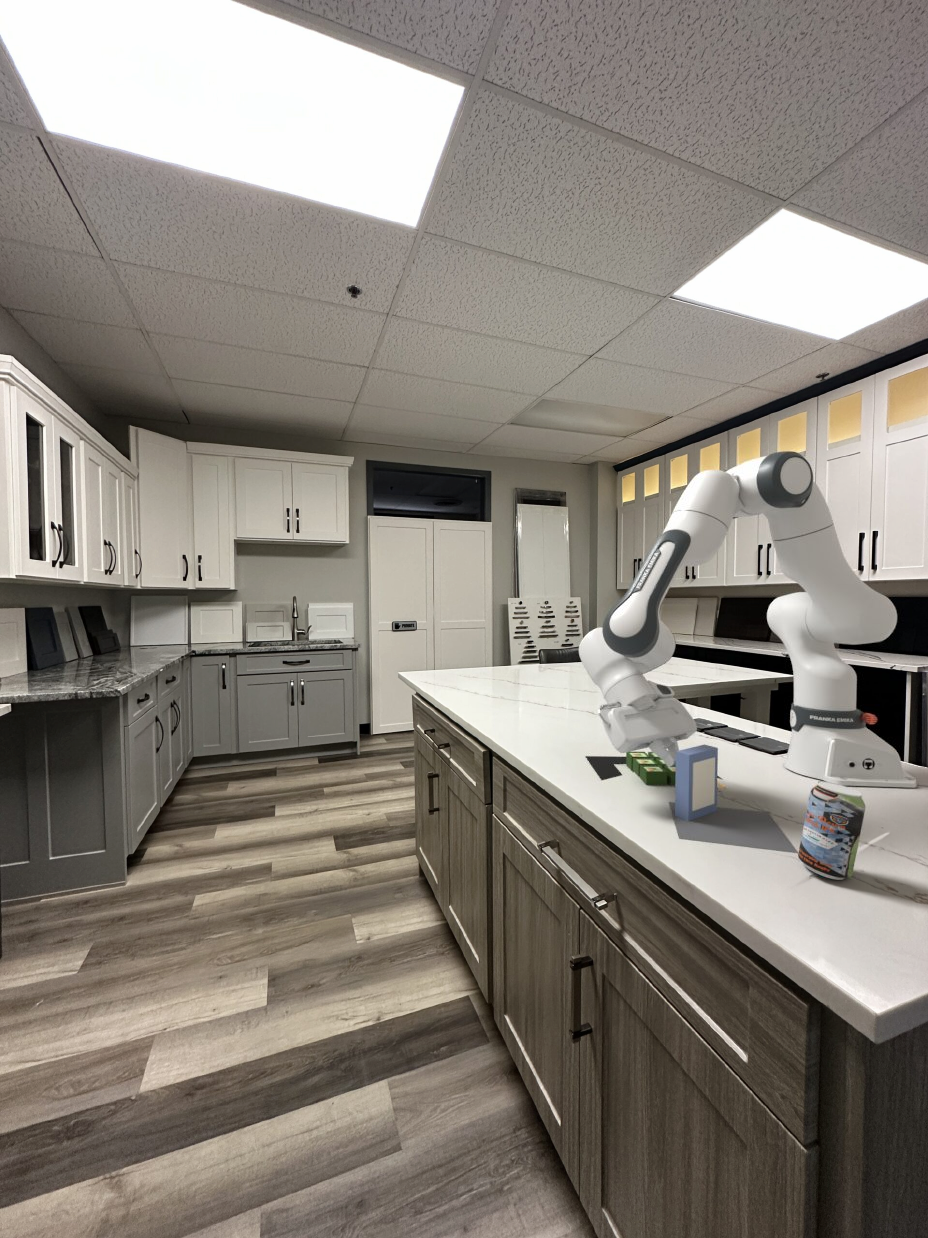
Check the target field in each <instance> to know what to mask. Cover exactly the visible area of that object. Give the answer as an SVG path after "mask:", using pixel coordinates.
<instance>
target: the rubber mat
mask: <svg viewBox="0 0 928 1238" xmlns="http://www.w3.org/2000/svg"><path fill="white" fill-rule="evenodd" d="M668 804H669V808H670V811H671V815H672V818H673V822H674V826H675V829H676V833H677V835H678V839H679V840H686V841H687V840H688V841H694V842H695V841H696V842H702V843H709V844H718V845H727V846H736V847H745V848H752V849H753V848H754V849H761V850H767V851H768V850H769V851H777V852H785V853H793V854H798V853H799V850H797V849H796V847H795V846H794V845H793V843H792V842H791V841H790V839H789V838H788V837H787V835H786V834H785V832H784V831H783V830H782V828H781V827H780V826H779V824H778V823H777V822H776V820H775V819H774V818H773V816H772V815H771V814H770V813H769V812H768V811H761V810H760V811H759V810H753V809H752V810H750V809H741V808H731V807H721V806H717V811H715V812H712V813H709V814H706V815H704V816H701V817H698V818H695V819H693V820H690V821H687V820H684V819H682V818H680V817H677V816H675V801H674V802H671V801H668Z"/></svg>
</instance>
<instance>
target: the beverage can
mask: <svg viewBox="0 0 928 1238" xmlns="http://www.w3.org/2000/svg"><path fill="white" fill-rule="evenodd" d="M816 783H817V784H816V785H814V786H813V787H812V788H811V789H810V791H809V797H808V802H807V807H806V812H805V817H804V821H803V827H802V833H801V838H800V844H799V848H798V849H799V850H798V853H797V856H798V859H799V860H800V861H801V862H802V863H803V865H804V867H806V868H807V869H808V870H810V871H812V872H813V873H815V874H817V875H820V876H822V877H825V878H827V879H832V880H838V881H842V880H844V879H850V878H851V877H853V873H854V867H855V862H856V859H857V858H856V857H857V853H858V846H859V843H860V836H861V831H862V829H863V828H862V826H863V823H864V817H865V811H866V804H865V802H864V800H863V794H862V793H861V792H860V791H858V790H857V789H854V788H851V787H849V786H847V785H839V784H835V783H831V782H827V781H824V780H819V781H817V782H816Z"/></svg>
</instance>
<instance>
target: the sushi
mask: <svg viewBox="0 0 928 1238" xmlns="http://www.w3.org/2000/svg"><path fill="white" fill-rule="evenodd" d="M586 758H587V759H586ZM585 759H586V760H587V762H588V761H589V762H588V763H589V765H590V766H591V767H592V769H593V770H594V772H595V773H596V775H597V776H598V778H599V779H600V780H601V781H605V780H608V779H613V778H616V777H621V776H623V774H622V772H621V771H620V770H619V769H618V768H617V766H616V765H625V766H626V767H627V768H628V769H629V770H630V771H632V773H634V774H635V775H636V776H637V777H638V778H639V779H640V780H641V782H643V783H644V784H645V785H646V786H668V785H670V786H675V781H676V765H675V766H672V767H668V766H667V765H666V764H665V762H664V761H663V759H661V758H660V757H658V756H657V755H655V754H654V753H653V752H652V751H648V752H645V751H630V752H626V753H625V756H618V755H617V756H611V755H610V756H606V755H605V756H604V755H603V756H601V755H600V756H599V755H597V756H596V755H595V756H594V755H585ZM717 779H719V780H723V781H724V779H723V778H722V777H720V776H719V775H718V774H717ZM718 786H720V787H721V788H723V789H724V790H725V789H727V787H726V786H725V785H723V784H722V783H720V782H719V781H718V780H717V790H718V789H719V787H718Z"/></svg>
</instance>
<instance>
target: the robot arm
mask: <svg viewBox="0 0 928 1238" xmlns="http://www.w3.org/2000/svg"><path fill="white" fill-rule="evenodd" d="M813 472H814V471H813V469H812V467H811V464H810V462H809V461H808V460H807V459H806V458H805V457H804V456H803V455H802V454H800V453H799V452H797V451H791V450H788V451H778V452H777V451H776V452H772V453H770V454H768V455H765V456H759V457H756V458H753V459H748V460H746V461H744V462H742V463H740V464H738V465H736V466H733V467H731V468H730V469H725V470H720V469H705V470H703V471H701V472H699V473H696V475H695V476H694V477H693V478H692V479H691V481H689V483H688V484H687V486H686V487H685V489H684V491H683V492H682V494H681V496H680V498H679V499H678V501H677V503H676V505H675V506H674V509H673V510H672V513H671V515H670V517H669V520H668V522H667V523H666V525H665V528H664V529H663V532H662V533H661V534H660V535H659V536H658V538H656V541H655V542H654V543H653V545H652V547H651V548H650V550H649V552H647V555H646V557H645V559H644V560H643V562H642V564H641V565H640V568H639V569H638V571H637V573H636V575H635V576H634V579H632V582H631V584H630V586H629V587H628V589H627V590H626V592H625V593H624V595H622V597H621V598H620V599H619V601H618V602H616V603H615V605H613V606H612V607H611V608H610V609H609V610H608V612H607V613H606V615H605V618H604V620H603V622H602V627H596V628H594V629H592V630H590V631H589V632H588V633H587V634H585V636H584V637H583V638H582V640H581V641H580V643H579V646H578V655H579V658H580V661H581V663H582V665H583V667H584V669H585V670H586V672H587V674H588V676H589V678H590V679H591V681H592V682H593V683H594V685H596V686H597V687H598V688H599V689H600V691H601V693H602V696H603V699H604V700H605V702H606V703H607V704H606V703H604V704H602V705H601V704H600V707H599V709H598V712H597V713H598V717H599V718H600V719H601V721H602V727H603V729H604V731H605V733H606V735H607V737H608V739H609V741H610V743H611V745H612V746H613V748H614V749H615V750H616V751H617V752H618V753H620V754H626V752H636V751H639V750H643V749H648V748H649V749H650V752H653V753H654V754H655V755H657V756H658V757H660V758H661V759H663V761H664V762H665V764H666V765H667V766H668V767H672V766H675V765H676V751H679V750H680V749H679V745H678V742H679V741H682V740H687V739H688V738H690V737H691V736H693V735H694V734H695V733H696V732H697V731H698V726H697V722H696V721H695V719H694V718H693V716H692V715H691V714H690V712H689V710H687V708H686V707H685V706H684V704H683V703H682V702H681V701H679V699H678V698H676V697H674V696H675V691H674V689H672V687H671V686H668V685H665V684H661V683H657V682H655V681H651V680H647V678H646V677H645V674H646V673H649V672H651V671H653V670H655V669H658V668H660V667H661V666H663V665H665V664H667V663H668V662H669V661H670V660H671V659H672V658H673V655H674V654H675V651H676V648H677V647H676V646H677V643H676V642H677V641H676V638H675V635H674V634H673V632H672V631H671V630H670V629H669V628H668V626H667V625H666V624H665V623H664V622H663V621H662V620H661V616H660V610H661V609H660V608H661V605H662V603H663V601H664V599H665V597H666V595H667V594H668V591H669V589H670V588H671V586H672V584H673V582H674V580H675V578H676V577H677V574H679V572H680V571H681V570H682V569H683V568H684V567H698V566H702V565H704V564H707V563H708V562H710V561H712V560H713V558H714V557H715V555H716V554H717V553H718V552H719V550H720V548H721V546H722V545H723V543H724V541H725V539H726V536H727V534H728V532H729V529H730V528H731V525H732V522H733V520H734V519H737V518H745V517H753V516H759V515H761V514H762V515H764V516H765V518H766V519H767V523H768V527H769V532H770V535H771V540H772V543H773V546H774V549H775V554H776V558H777V560H778V561H777V562H778V564H779V568H780V570H781V573H782V574H783V575H784V576H785V577H787V578H788V579H790V580H791V581H793V582H795V583H796V584H798V585H799V586H800V587H801V588H802V589H803V590H804V591H803V592H802V591H799V592H792V593H789V594H785V595H781V596H779V597H776V598H775V599H773V601H772V602H771V603H770V604H769V605H768V609H767V612H766V620H767V625H768V626H769V628H770V630H771V631H772V633H774V634H775V635H776V636H777V637H778V639H780V640H781V642H782V643H783V645H784V647H785V649H786V651H787V652H788V653H787V654H788V656H789V658H790V659H789V660H790V661H791V665H792V666H791V667H792V671H793V672H792V673H793V675H792V676H793V702H792V703H791V706H790V714H789V715H790V717H789V718H790V719H789V723H790V728H791V736H790V739H789V740H790V741H789V744H788V745H789V746H788V749H787V753H786V757H785V760H784V762H783V766H784V767H785V768H786V769H787V770H790V771H791V772H793V773H796V774H799V775H802V776H806V777H809V778H814V779H818V780H820V781H826V782H831V783H835V784H839V785H843V786H846V787H849V786H852V787H853V786H854V787H856V786H857V787H882V788H883V787H887V788H910V789H911V788H913V789H914V788H917V786H918V785H917V780H916V778H915V777H914V776H912V774H910V773H909V772H906V771H904V770H903V767H902V762H901V760H902V759H901V757H900V755H899V753H898V752H897V750H896V749H895V748H894V747H893V746H892V745H890V744H889V743H888V742H886V741H885V740H884V739H882V738H881V737H879V736H878V735H877V734H876V733H874V732H873V731H872V730H870V729H868V728H867V726H866V725H867V724H868V725H875V724H876V723H877V722H878V717H877V716H876V715H875V714H872V713H869V712H863V711H861V710H860V709H858V708H857V689H858V688H857V687H858V686H857V683H858V682H857V681H858V679H857V678H858V676H857V673H856V671H855V670H854V668H853V667H852V666H851V665H850V664H848V663H846V662H845V661H843V659H842V658H841V656H839V654H838V653H837V650H836V647H835V644H842V645H863V644H864V645H865V644H872V643H881V642H883V641H884V640H886V639H887V638H889V637H890V635H891V634H892V633H894V630H895V629H896V626H897V623H898V613H897V609H896V606H895V605H894V603H893V602H892V601H891V599H889V597H887V596H885V595H884V594H882V593H880V592H877V591H876V590H874V589H873V588H871V586H869V585H868V584H867V583H865V582H864V581H863V580H862V579H861V578H860V577H859V576H858V575H857V574H856V572H855V571H854V570H853V569H852V567H851V566H850V565H849V563H848V562H847V559H846V557H845V555H844V552H843V550H842V547H841V543H840V542H839V541H840V540H839V537H838V534H837V530H836V528H835V525H834V519H833V517H832V514H831V511H830V508H829V506H828V503H827V500H826V499H825V497H824V494H823V493H822V491H821V490H820V487H819V486H818V484H817V483H816V482H815V481H814V473H813Z"/></svg>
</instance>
